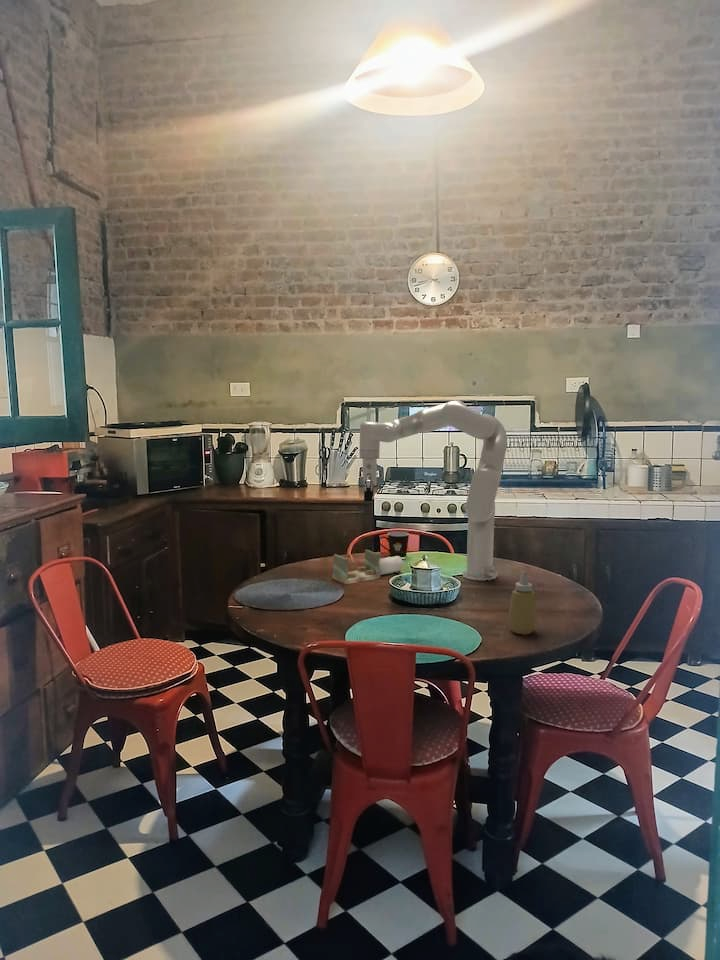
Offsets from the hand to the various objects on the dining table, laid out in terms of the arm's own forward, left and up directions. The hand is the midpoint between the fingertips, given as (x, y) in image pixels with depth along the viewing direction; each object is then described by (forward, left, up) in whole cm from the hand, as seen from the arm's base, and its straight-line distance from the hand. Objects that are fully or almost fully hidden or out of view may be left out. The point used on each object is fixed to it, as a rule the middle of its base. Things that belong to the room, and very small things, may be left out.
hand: (368, 499), depth 282 cm
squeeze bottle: (-83, 0, -27) cm, 87 cm away
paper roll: (-10, -3, -27) cm, 29 cm away
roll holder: (-10, +11, -27) cm, 31 cm away
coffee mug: (+8, -19, -27) cm, 34 cm away
